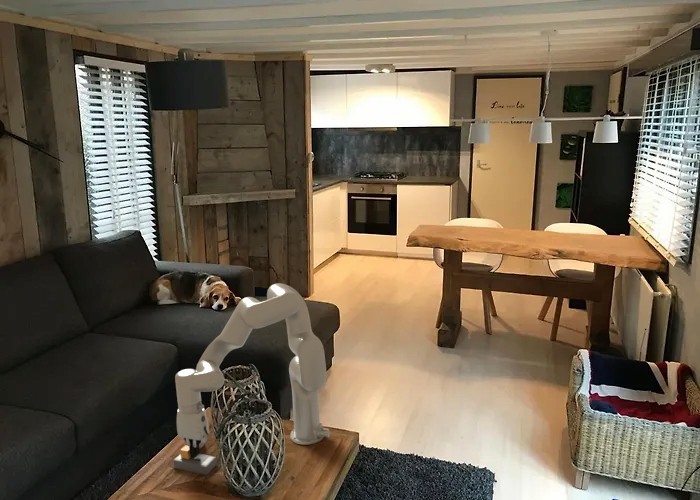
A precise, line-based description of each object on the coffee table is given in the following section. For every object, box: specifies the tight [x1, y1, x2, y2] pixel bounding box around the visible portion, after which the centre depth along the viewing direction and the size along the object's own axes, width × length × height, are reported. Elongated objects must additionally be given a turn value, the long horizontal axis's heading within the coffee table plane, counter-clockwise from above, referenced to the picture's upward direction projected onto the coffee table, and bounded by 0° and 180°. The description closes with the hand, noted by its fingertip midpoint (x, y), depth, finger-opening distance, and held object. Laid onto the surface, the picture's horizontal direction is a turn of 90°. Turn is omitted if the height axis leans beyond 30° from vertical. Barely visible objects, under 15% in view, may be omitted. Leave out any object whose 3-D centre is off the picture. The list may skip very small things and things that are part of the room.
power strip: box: [173, 453, 218, 476], centre depth 194 cm, size 13×6×3 cm, turn 69°
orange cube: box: [179, 444, 190, 459], centre depth 195 cm, size 3×3×3 cm
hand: (195, 455), depth 194 cm, fingers closed
